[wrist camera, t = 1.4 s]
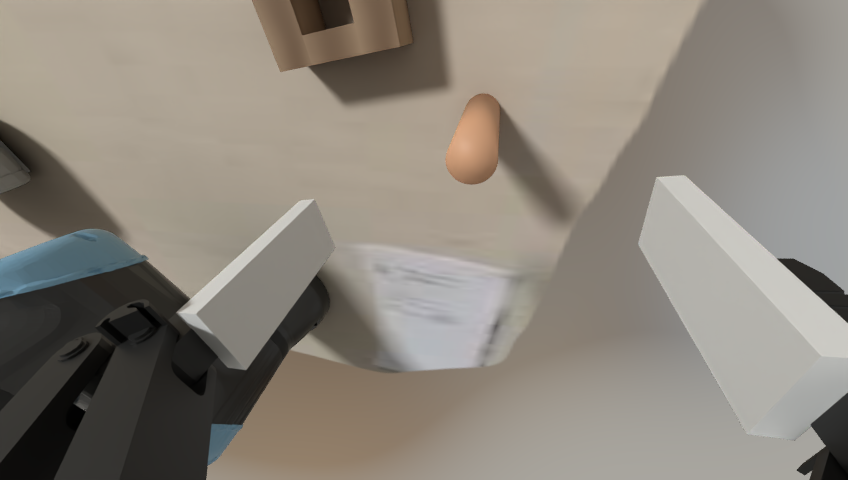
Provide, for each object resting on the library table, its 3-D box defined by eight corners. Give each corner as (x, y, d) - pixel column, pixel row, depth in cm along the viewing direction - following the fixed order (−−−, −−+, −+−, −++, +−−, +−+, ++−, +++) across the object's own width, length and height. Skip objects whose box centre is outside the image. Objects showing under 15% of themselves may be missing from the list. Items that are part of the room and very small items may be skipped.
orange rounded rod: (466, 132, 27) (449, 186, 19) (463, 96, 26) (442, 137, 17) (500, 128, 26) (498, 182, 18) (499, 90, 25) (496, 131, 16)
